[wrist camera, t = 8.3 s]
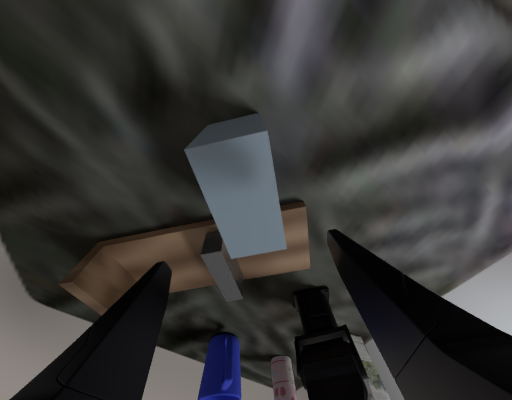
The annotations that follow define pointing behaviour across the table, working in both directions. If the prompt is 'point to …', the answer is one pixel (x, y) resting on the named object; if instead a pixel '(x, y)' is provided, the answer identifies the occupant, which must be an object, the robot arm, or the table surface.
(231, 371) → the mug
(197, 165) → the blue-grey rectangular block
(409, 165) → the table surface
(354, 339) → the syrup box
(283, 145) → the table surface
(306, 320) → the robot arm
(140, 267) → the shelf
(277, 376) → the beverage can
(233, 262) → the grey rectangular block
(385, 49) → the table surface
